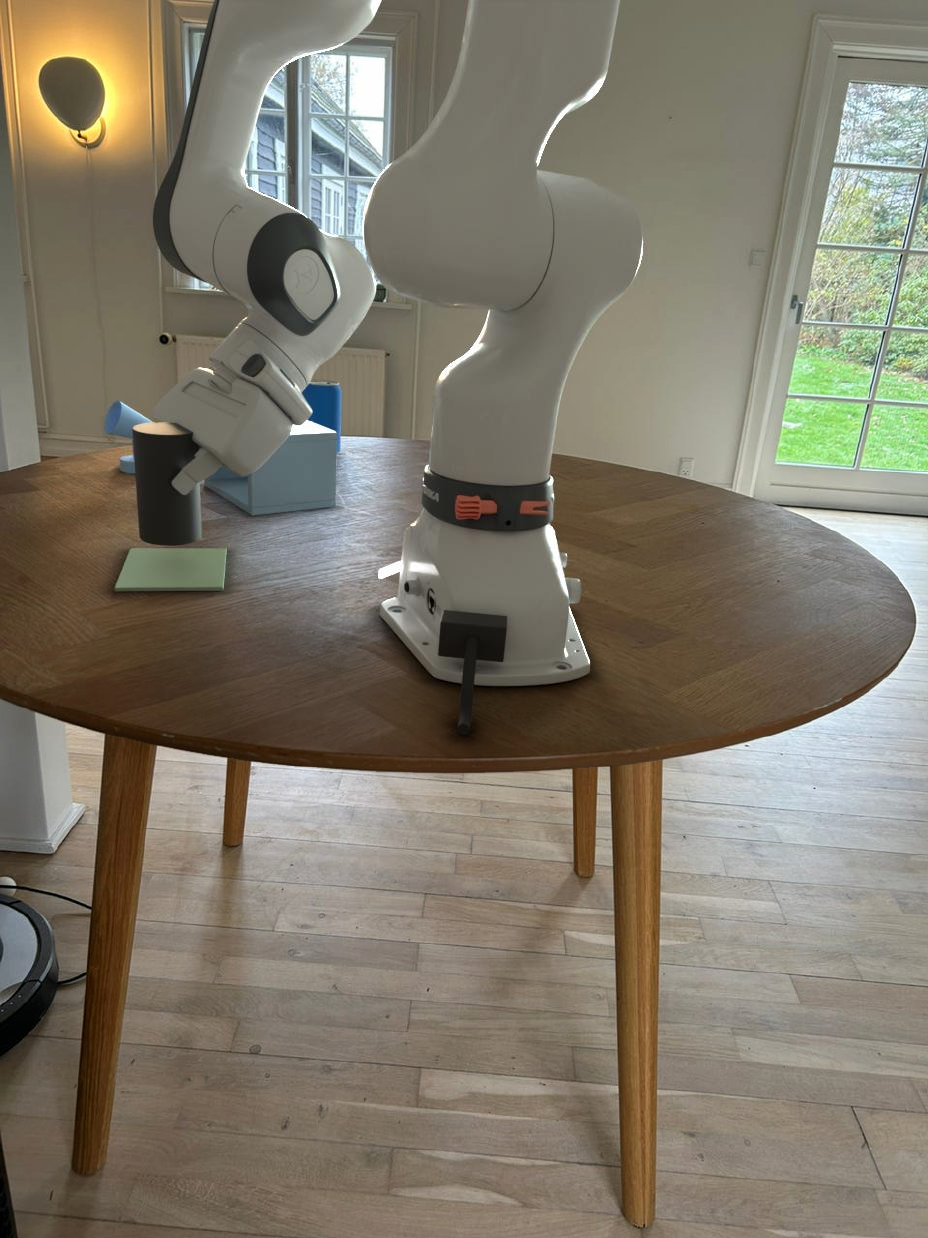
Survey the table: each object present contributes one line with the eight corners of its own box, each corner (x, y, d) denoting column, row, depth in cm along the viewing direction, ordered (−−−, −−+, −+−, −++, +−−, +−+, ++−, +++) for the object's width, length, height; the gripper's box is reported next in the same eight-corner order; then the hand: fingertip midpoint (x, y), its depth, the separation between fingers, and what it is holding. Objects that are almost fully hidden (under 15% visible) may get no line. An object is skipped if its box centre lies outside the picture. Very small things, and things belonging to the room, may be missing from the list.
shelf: (335, 506, 115) (337, 416, 110) (252, 515, 108) (250, 420, 103) (283, 478, 126) (282, 396, 122) (204, 485, 119) (200, 398, 115)
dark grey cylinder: (200, 546, 85) (195, 436, 81) (136, 545, 83) (128, 433, 79) (203, 527, 90) (199, 423, 86) (143, 527, 89) (135, 420, 84)
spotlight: (115, 475, 120) (163, 471, 125) (109, 403, 117) (159, 402, 121) (103, 468, 124) (150, 464, 128) (97, 398, 120) (146, 396, 124)
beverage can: (344, 452, 146) (345, 381, 142) (335, 460, 140) (336, 385, 136) (307, 449, 146) (307, 377, 142) (296, 456, 141) (296, 381, 136)
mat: (223, 590, 84) (223, 586, 84) (114, 591, 81) (114, 587, 81) (226, 551, 94) (226, 548, 94) (130, 551, 92) (130, 547, 92)
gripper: (193, 340, 91) (105, 436, 89) (278, 369, 77) (175, 485, 75) (233, 382, 95) (150, 474, 94) (321, 417, 81) (225, 528, 79)
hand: (162, 479), depth 84 cm, fingers closed on dark grey cylinder, 6 cm apart
